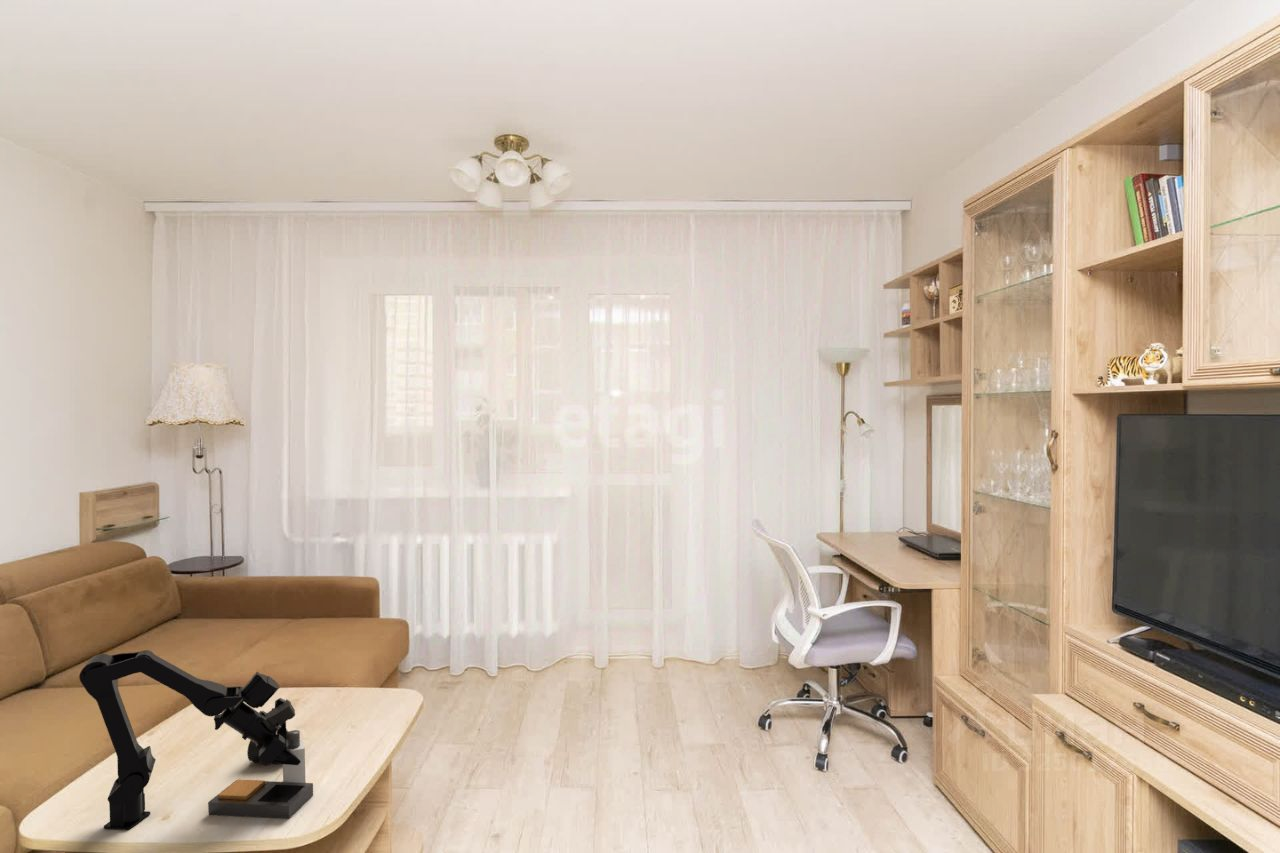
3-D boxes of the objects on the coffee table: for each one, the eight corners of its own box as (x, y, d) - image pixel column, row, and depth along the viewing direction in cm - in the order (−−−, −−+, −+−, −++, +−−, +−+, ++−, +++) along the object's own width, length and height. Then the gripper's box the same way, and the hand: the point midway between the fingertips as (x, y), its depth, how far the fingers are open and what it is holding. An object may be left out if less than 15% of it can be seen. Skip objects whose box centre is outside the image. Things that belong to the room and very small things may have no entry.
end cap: (247, 768, 188) (246, 742, 187) (259, 755, 195) (258, 730, 195) (286, 765, 189) (285, 740, 188) (296, 752, 196) (296, 728, 195)
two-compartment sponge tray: (289, 818, 164) (288, 801, 164) (208, 814, 166) (208, 798, 166) (313, 795, 174) (312, 779, 174) (236, 791, 176) (236, 775, 176)
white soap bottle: (283, 790, 176) (282, 739, 176) (283, 781, 180) (281, 730, 180) (305, 785, 178) (304, 734, 178) (304, 776, 183) (303, 726, 182)
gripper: (273, 708, 169) (325, 743, 174) (273, 681, 185) (320, 714, 191) (236, 748, 165) (290, 783, 171) (239, 718, 182) (288, 750, 187)
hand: (298, 755), depth 180 cm, fingers open, 9 cm apart
